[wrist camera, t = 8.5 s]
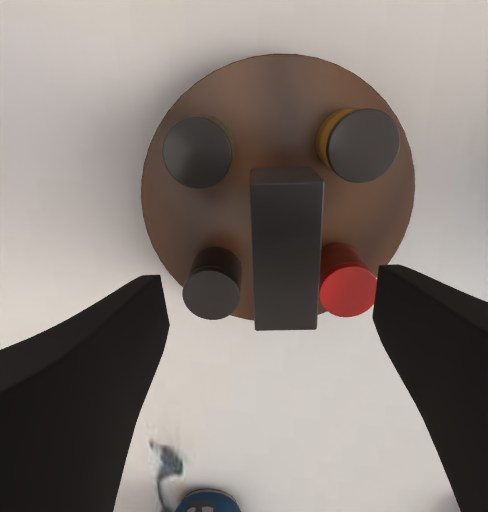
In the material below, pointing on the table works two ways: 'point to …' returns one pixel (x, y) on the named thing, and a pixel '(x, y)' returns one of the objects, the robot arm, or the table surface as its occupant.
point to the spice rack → (278, 191)
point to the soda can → (208, 502)
